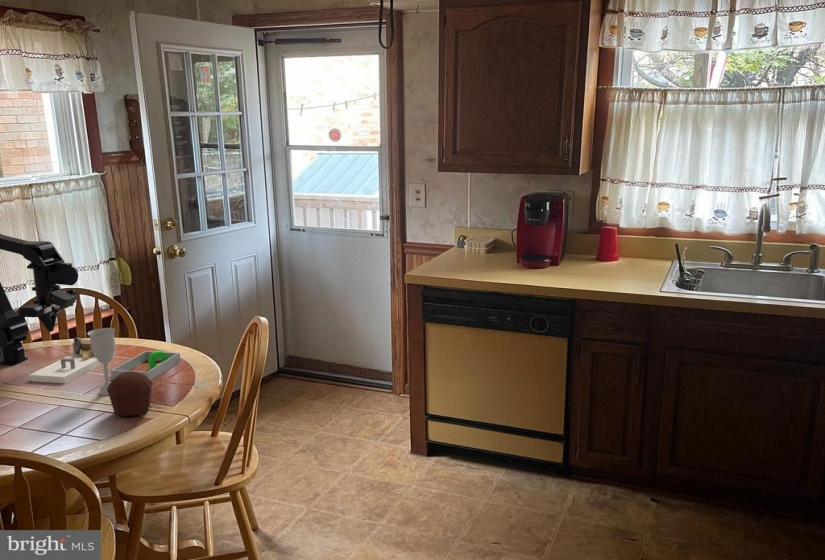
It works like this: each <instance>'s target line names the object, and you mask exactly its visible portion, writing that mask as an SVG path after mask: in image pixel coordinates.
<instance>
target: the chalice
mask: <svg viewBox="0 0 825 560" xmlns="http://www.w3.org/2000/svg"><path fill="white" fill-rule="evenodd" d="M115 332H116V329H115V328H114V327H100V328H97V329H93V330H89V331H88V332H87V335H88V336H89V340H90V343H91V350H92V352H93V354H94V356H95V357H96V358H97V360H98V361H99V362H100V363H102V364H101V365H103V369H102V371H103V372H104V375H103V378H104V380H105V382H104V383H103V384H102V385H101V386H100V389H99V393H98V395H100V396H109V393H108V391H107V388H108V386H109V384H110V383H111V381H110V376H111V374H109V370H110V368H109V367H108V363H110V362H112V361H111V360H112V356H113V354H114V353H115V348H116V339H115Z"/></svg>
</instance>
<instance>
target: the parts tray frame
mask: <svg viewBox="0 0 825 560" xmlns="http://www.w3.org/2000/svg"><path fill="white" fill-rule="evenodd" d="M153 352H154V351H153V350H152V351H151V350H144V351H143V352H141V353H139V354H137V355H136V356H133V357H132V358H130V359H129V360H126V361H124V362H123V363H121V364H119V365H118V366H115V367H114V368H111V370H110V376H111V381H112V380H113V379H114V378H115V377H116V376H118V375H119V374H121V373H124V372H130V371H132V370H134V368H136V367H138V366H139V365H141V364H143V363H144V362H146V361H148V359H149V356H150V354H151V353H153ZM163 352H164V353H165V354H166V355H167V356H168V359H167V360H165V361H164V362H162V363H160V362H161V361H162V357H158V358H157V359H156V360H155V362H157V361H158V362H159V363H160V364H159V363H158V364H159V365H157V366H156V367H154V368H152V369H151V370H148V371H144V370H143V371H140V370H134V371H135V372H139V373H141V374H144V375H145V376H147V377H148V378H149V379H150V380H151V381H153V380H155V378H157V377H159V376H160V375H162V374H164V373H165V372H166V371H168V370H170V369H172V368H173V367H175V366H176V365H177V364H179V363H181V353H180V352H174V351H173V352H171V351H166V352H165V351H163Z"/></svg>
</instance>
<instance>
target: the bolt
mask: <svg viewBox="0 0 825 560" xmlns="http://www.w3.org/2000/svg"><path fill="white" fill-rule="evenodd" d="M73 343H74V345H75V353H76V354H80V355H83V358H90V357H92V356H94V354H93V352H92V350H82V345H81V337H74V338H73Z"/></svg>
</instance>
